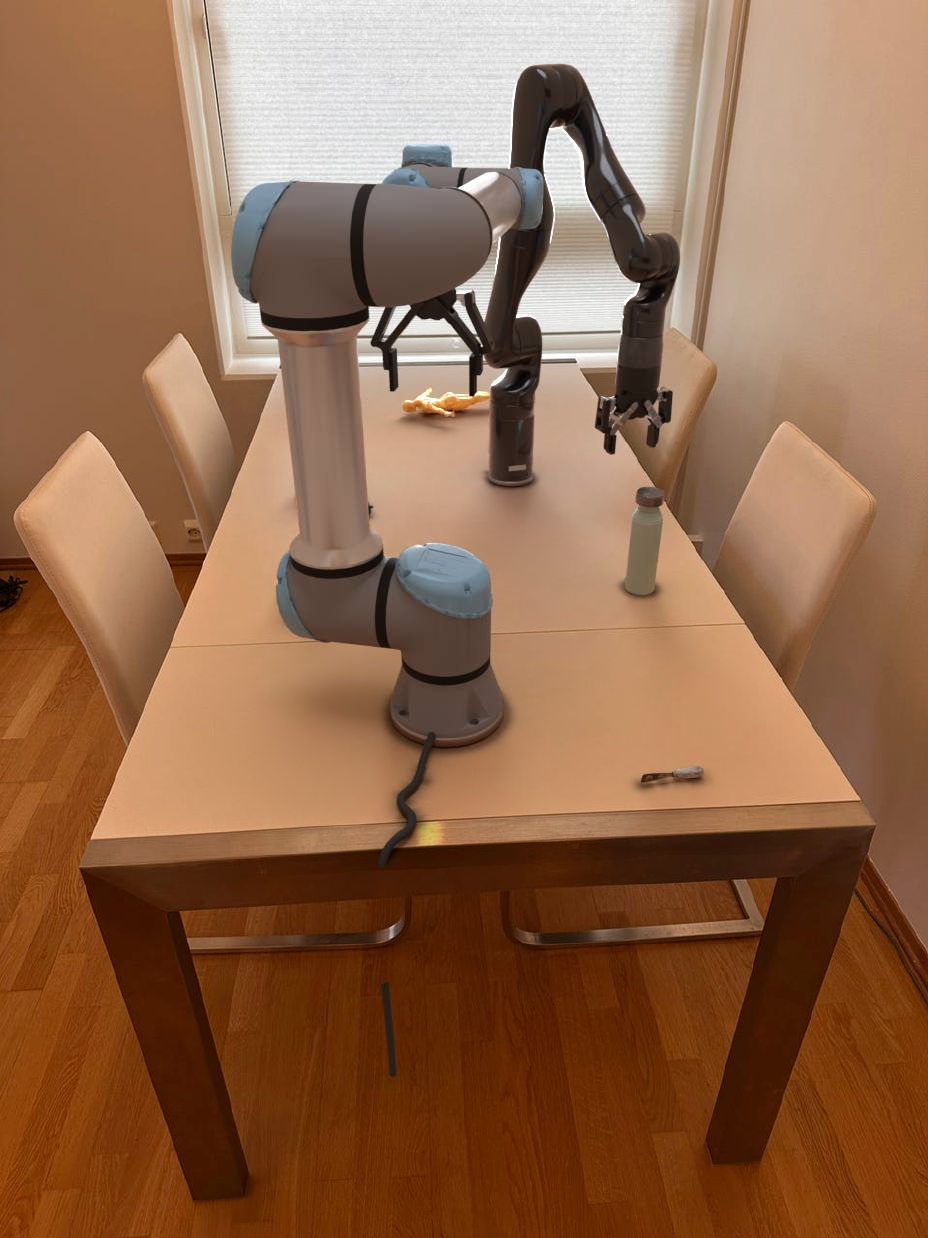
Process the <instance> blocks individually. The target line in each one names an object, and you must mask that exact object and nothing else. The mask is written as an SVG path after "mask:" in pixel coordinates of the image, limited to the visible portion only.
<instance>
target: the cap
mask: <svg viewBox="0 0 928 1238" xmlns="http://www.w3.org/2000/svg"><path fill="white" fill-rule="evenodd" d="M665 494H666V493H665V491H664V490H663V489H661V488H659V487H655V486H642V487H639V488H637V489H636V493H635V503H636V504H637V505H638V506H639V505H640V506H643V507H649V508H654V507H659V508H660V507H662V506H663V505H664V501H665V496H666V495H665Z"/></svg>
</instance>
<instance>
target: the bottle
mask: <svg viewBox="0 0 928 1238" xmlns="http://www.w3.org/2000/svg"><path fill="white" fill-rule="evenodd" d="M663 523H664V516H663V513H662V511H661V508H660V506H659V507H654V508H649V507H643V506H640V505H638V506H637V508H636V509H635V510H634V512H633V513H632V516H631V525H630V535H629V544H628V554H627V561H626V563H627V565H626V572H625V583H624V589H625V590H626V591H627V592H628V593H630V594H633V595H637V596H646V595H650V594H652V593H654V591H655V586H656V579H657V569H658V562H659V555H660V554H659V553H660V547H661V539H662V531H663Z"/></svg>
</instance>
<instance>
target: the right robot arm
mask: <svg viewBox="0 0 928 1238" xmlns="http://www.w3.org/2000/svg"><path fill="white" fill-rule="evenodd" d="M595 104H596V103H595V102H594V99H593V97H592V94H591V92H590V89H589V87H588V85H587V82H586V81H585V78H584V77H583V75H582V74H581V72H580V71H579V70H578V69H577V67H575V66H574V65H571V64H567V63H545V64H533V65H530V66H528V67H525V69H523V71H521V73H520V75H519V76H518V79H517V80H516V83H515V87H514V91H513V97H512V108H511V124H510V125H511V129H510V147H509V148H510V151H509V164H508V168H515V167H521V168H523V169H536V170H538V171H539V172H540V173H541V175H542V179H543V207H542V215H541V220H540V223H539V225H538V226H537V227H536V228H533V229H521V230H517V229H508V230H507V231H506V232H505V233H504V234H503V235H502V236H501V237H500V238H499V239H498V249H497V257H496V264H495V269H494V276H493V281H492V286H491V292H490V296H489V301H488V304H487V305H488V306H487V309H486V313H485V317H484V323H485V325H486V327H487V329H488V331H489V334H490V336H491V338H492V340H493V342H494V345H495V347H494V348H493V350H492V351H491V352H490V353H486V354H484V355H483V360H484V361H485V363H486V364H487V365H488V366H489V367H490V368H491V369H494V370H495V369H496V370H501V369H505V371H504V372H503V373H502V374H501V375H500V376H499V377H498V378H496V379H495V380H494V381H493V382H492V383H491V384H490V386H489V392H490V399H489V408H488V409H489V410H488V411H489V417H488V419H489V421H488V422H489V424H488V428H489V429H488V472H487V477H488V478H487V479H488V480H489V481H490V482H491V483H493V484H495V485H499V486H503V487H518V486H524V485H527V484H529V483H530V482H532V481H533V479H534V473H533V472H534V471H533V467H534V443H535V417H536V394H537V390H538V389H539V386H540V381H541V371H542V370H541V369H542V359H543V349H544V348H543V345H544V342H543V340H544V339H543V333H542V328H541V326H540V324H539V322H538V320H537V319H536V318H535V317H534V316H532V315H531V314H518V313H519V309H520V305H521V302H522V299H523V297H524V295H525V293H526V292H527V290H528V288H529V287H530V285H531V284H532V283H533V281H534V279H535V277H536V276H537V275H538V273H539V271H540V270H541V268H542V267H543V265H544V263H545V261H546V260H547V257H548V255H549V252H550V247H551V241H552V236H553V230H554V224H555V206H554V202H553V197H552V194H551V191H550V187H549V184H548V181H547V177H546V173H545V156H546V148H547V141H548V136H549V132H550V130H556V129H561V130H562V131H563V132H564V133H565V134H566V136H567V137H568V138H569V140H570V141H571V142H572V143H573V145H574V147H575V149H576V151H577V153H578V156H579V160H580V166H581V167H580V168H581V175H582V176H581V178H582V186H583V189H584V193H585V196H586V198H587V201H588V202H589V204H590V207H591V208H592V209H593V211H594V213H595V215H596V216H597V218H598V220H599V222H600V223H601V225H602V226H603V228H604V229H605V231H606V234H607V238H608V243H609V246H610V249H611V253H612V256H613V259H614V262H615V265H616V267H617V269H618V271H619V272H620V274H621V275H622V276H623V277H624V278H625V279H626V280H628V281H629V282H630V283H634V284H638V285H637V289H636V290H635V292H634V293H633V294H631V295H630V296H629V297H628V298H626V300H625V301H624V303H623V307H622V317H621V330H620V335H619V336H620V337H619V342H618V347H617V356H616V357H617V358H616V368H615V370H616V371H615V382H614V385H615V393H614V395H613V396H609V397H606V396H604V395H599V397H598V398H597V406H596V414H595V420H594V428H595V429H596V430H597V431H599V432H601V434H604V436H603V450H604V451H605V452H606V454H608V455H611V456H612V455H615V454H616V448H617V447H616V446H617V437H618V436H617V435H618V434H617V432H618V431H619V429H620V428H621V427H622V426H624V425H625V424H626V422H627V421H633V420H635V419H644V418H645V419H646V420H647V422H648V423H649V424H648V425H647V431H646V440H645V444H646V445H647V447H649V448H651V449H653V448H656V447H657V444H658V443H659V441H660V431H661V428H662V426H663V425H664V424H669V423H671V421H672V412H673V396H674V392H673V390H671V389H669V388H667V387H665V386H661V387H660V381H661V380H660V379H661V371H662V363H663V352H664V331H665V322H666V312H667V307H668V304H669V301H670V299H671V296H672V293H673V291H674V287H675V284H676V281H677V278H678V274H679V271H680V265H681V249H680V245H679V243H678V241H677V239H676V237H674V236H673V235H672V234H671V233H670V232H669V233H668V232H664V231H660V232H654V233H649V234H648V233H647V234H646V233H644V230H643V228H642V226H641V224H642V222H643V221H644V219H645V217H646V213H647V210H646V206H645V203H644V202H643V200H642V198H641V196H640V195H639V193H638V191H637V190H636V188H635V186H634V185H633V183H632V182H631V179H630V178H629V176H628V174H627V172H625V170H624V168H623V166H622V164H621V162H620V160H619V159H618V157H617V155H616V154H615V151H614V149H613V146H612V144H611V142H610V139H609V137H608V133H607V132H606V129H605V127H604V124H603V121H602V119H601V116H600V115H599V112H598V110H597V107H596V105H595ZM659 387H660V389H658V388H659ZM657 401H658V408H657V410H656V409H655V407H654V405H655V404H656V402H657ZM613 406H615V407H614V408H613ZM619 415H620V416H619Z"/></svg>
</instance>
